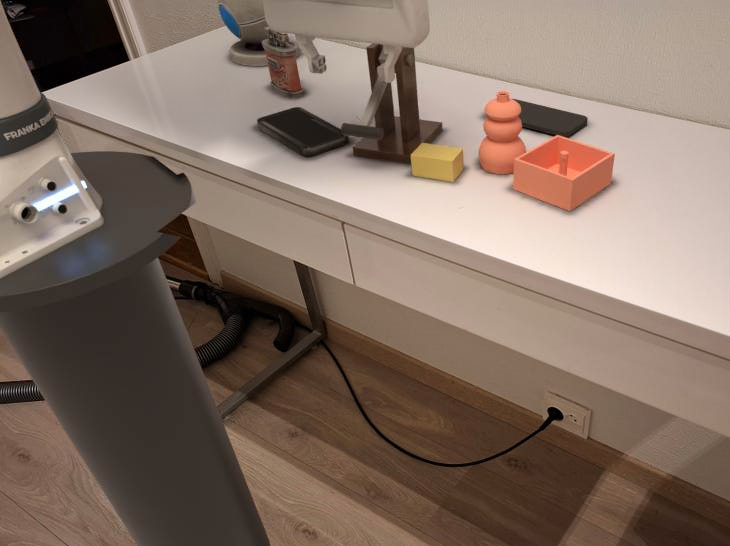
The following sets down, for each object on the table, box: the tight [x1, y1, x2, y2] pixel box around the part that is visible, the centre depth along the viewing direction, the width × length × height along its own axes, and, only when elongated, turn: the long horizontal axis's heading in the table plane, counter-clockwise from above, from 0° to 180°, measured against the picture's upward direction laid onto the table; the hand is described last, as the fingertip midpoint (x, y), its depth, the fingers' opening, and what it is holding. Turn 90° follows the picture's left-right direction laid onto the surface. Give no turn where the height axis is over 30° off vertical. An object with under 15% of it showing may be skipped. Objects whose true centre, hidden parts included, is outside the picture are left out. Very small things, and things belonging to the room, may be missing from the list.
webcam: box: [217, 0, 301, 67], centre depth 124 cm, size 13×13×15 cm
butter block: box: [410, 143, 465, 183], centre depth 91 cm, size 4×6×3 cm, turn 71°
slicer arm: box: [340, 49, 396, 140], centre depth 90 cm, size 14×6×2 cm
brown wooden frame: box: [352, 43, 444, 165], centre depth 95 cm, size 12×9×14 cm
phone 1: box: [256, 106, 350, 157], centre depth 101 cm, size 8×1×15 cm
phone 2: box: [485, 98, 589, 138], centre depth 104 cm, size 7×1×15 cm
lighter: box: [262, 27, 305, 99], centre depth 112 cm, size 8×3×10 cm, turn 42°
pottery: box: [478, 90, 616, 212], centre depth 88 cm, size 18×10×10 cm, turn 49°
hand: (352, 76), depth 83 cm, fingers open, 8 cm apart
